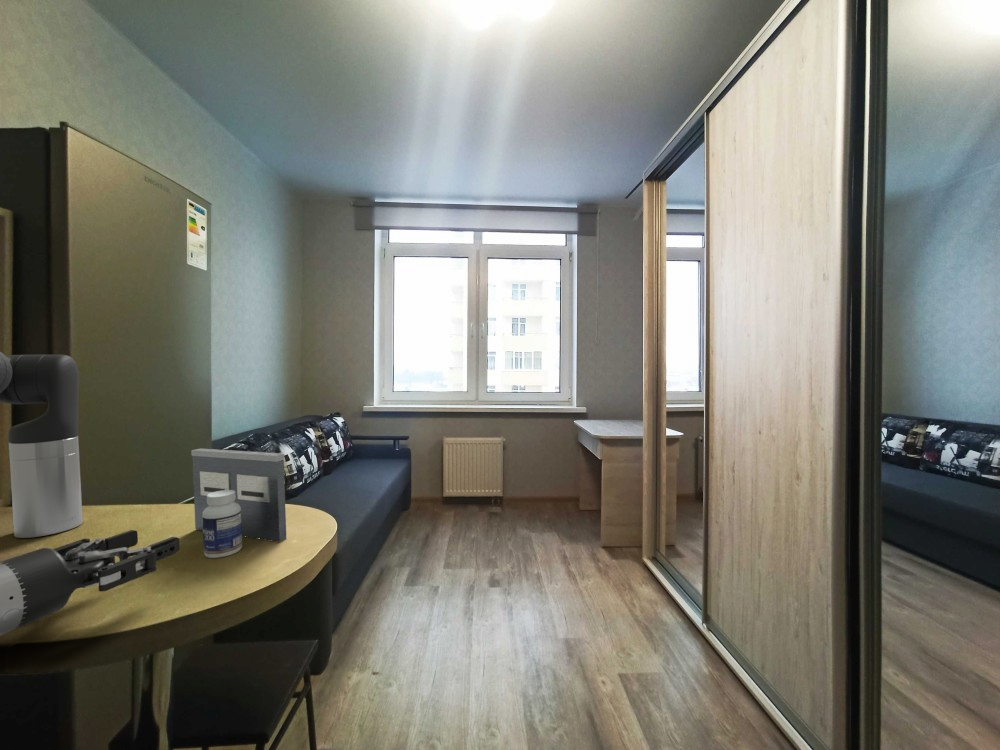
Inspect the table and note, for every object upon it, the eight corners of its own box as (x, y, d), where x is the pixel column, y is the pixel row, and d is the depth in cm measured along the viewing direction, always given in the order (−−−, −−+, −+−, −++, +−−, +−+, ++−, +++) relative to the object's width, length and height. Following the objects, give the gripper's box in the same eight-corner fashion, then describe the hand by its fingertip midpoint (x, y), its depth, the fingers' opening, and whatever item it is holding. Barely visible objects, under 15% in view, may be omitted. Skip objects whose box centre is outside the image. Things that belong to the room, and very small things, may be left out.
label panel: (194, 530, 83) (190, 450, 83) (203, 526, 85) (200, 448, 85) (278, 542, 77) (275, 456, 76) (287, 538, 79) (284, 453, 78)
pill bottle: (199, 552, 74) (197, 493, 73) (236, 542, 78) (234, 486, 77) (209, 562, 70) (206, 500, 70) (247, 551, 74) (244, 492, 74)
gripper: (37, 573, 46) (191, 519, 61) (-40, 555, 51) (121, 509, 66) (41, 644, 46) (193, 572, 62) (-36, 620, 51) (124, 559, 66)
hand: (156, 540), depth 64 cm, fingers open, 8 cm apart
